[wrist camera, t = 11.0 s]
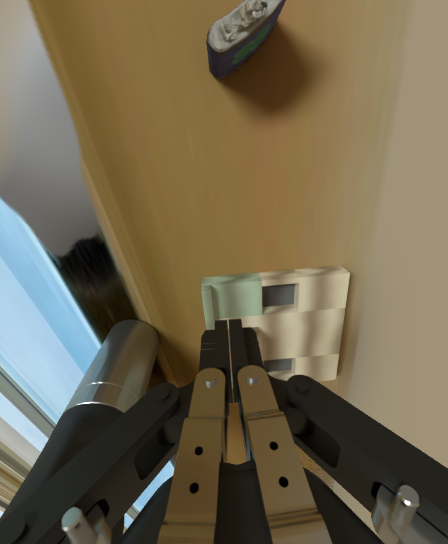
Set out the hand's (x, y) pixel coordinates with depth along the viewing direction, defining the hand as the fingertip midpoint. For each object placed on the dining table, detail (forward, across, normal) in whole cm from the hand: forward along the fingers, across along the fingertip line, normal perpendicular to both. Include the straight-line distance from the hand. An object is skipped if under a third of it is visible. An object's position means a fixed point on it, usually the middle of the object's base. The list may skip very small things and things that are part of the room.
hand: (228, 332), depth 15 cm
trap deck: (+28, -8, +21) cm, 36 cm away
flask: (+28, -4, -20) cm, 35 cm away
